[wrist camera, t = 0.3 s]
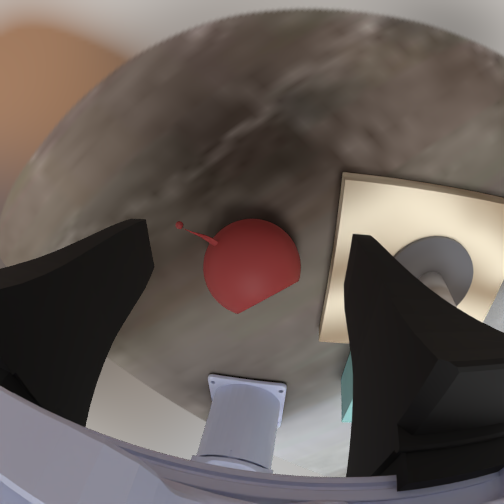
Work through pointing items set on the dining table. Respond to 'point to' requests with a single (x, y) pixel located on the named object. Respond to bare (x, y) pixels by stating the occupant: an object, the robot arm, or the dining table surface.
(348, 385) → the collar
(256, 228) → the fruit
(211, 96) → the dining table surface
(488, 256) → the post base
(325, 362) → the dining table surface
